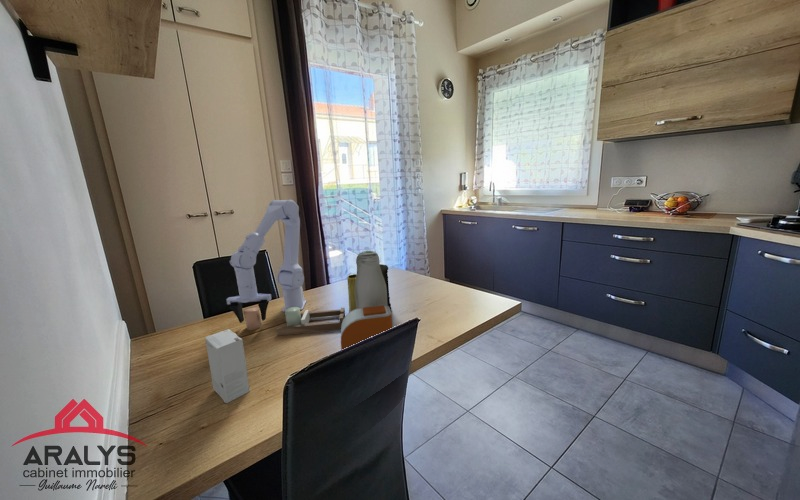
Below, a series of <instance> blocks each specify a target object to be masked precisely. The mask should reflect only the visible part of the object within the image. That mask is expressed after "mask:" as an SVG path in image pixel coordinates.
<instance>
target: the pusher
mask: <svg viewBox="0 0 800 500" xmlns="http://www.w3.org/2000/svg"><path fill="white" fill-rule="evenodd" d="M309 312H310V309H305V310H304V312H303V313H304V314H303V317H302V319H301V324H302V325H305V324H310V321H317V320H320V321H321V320H329V319H339V317H340V315H338V316H328V317H317V318H310V315H309Z"/></svg>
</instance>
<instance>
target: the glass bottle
mask: <svg viewBox="0 0 800 500" xmlns="http://www.w3.org/2000/svg"><path fill="white" fill-rule="evenodd" d="M380 263H381V261H380V257H379V254H378V252H376V251H374V250H364V251H362V252H359V253H358V254H357V256H356V258H355V264H356V273H355V274H356V280H355V287H354V291H355V300H356V308H362V307H371V306H380V305H387V288H386V283H385V280H384V277H383V275H382V272H381V268H380Z"/></svg>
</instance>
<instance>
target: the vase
mask: <svg viewBox="0 0 800 500" xmlns="http://www.w3.org/2000/svg"><path fill="white" fill-rule="evenodd" d="M356 274H357V273H352V274H349V275H347V277H346V279H347V289H348V291H347V292H348V309H349V310H348V311H349V312H351V311H353V310H354V309H357V308H356V300H355V291H354V287H355V280H356ZM349 312H348V313H349Z"/></svg>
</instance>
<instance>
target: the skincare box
mask: <svg viewBox="0 0 800 500" xmlns="http://www.w3.org/2000/svg"><path fill="white" fill-rule="evenodd" d="M204 339H205V345H206V352H207V358H208V363H209V364H208V365H209V369H210V376H211V382H212V388H213V391H214V392H216V393H217V394H218V395H219V397H220V398H221V399H222V400H223V402H224V403H225V404H228V403H230V402H232V401H234V400H235V399H238V398H240V397H242V396H245V394H247V393H249V392H250V385H249V375H248V371H247V364H246V363H247V362H246V356H245V349H244V343H243V338H241V337H239V336H238V335H237V333H236V332H233V331H232V330H230V329H229V328H228V329H225V330H221V331H218V332H216V333H214V334H209V335H207V336H204Z"/></svg>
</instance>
